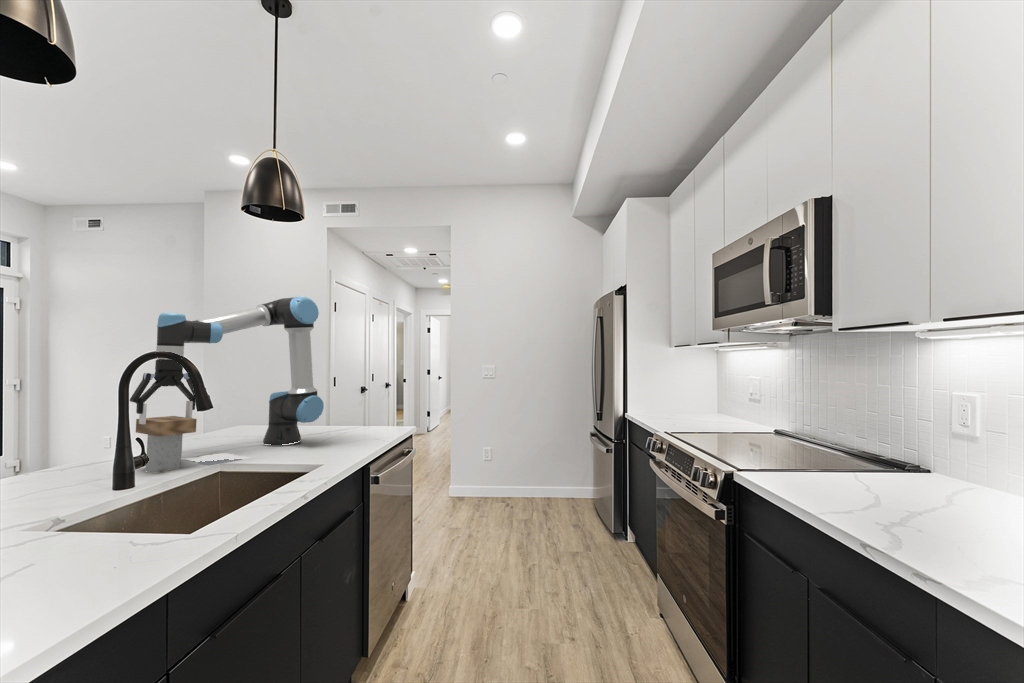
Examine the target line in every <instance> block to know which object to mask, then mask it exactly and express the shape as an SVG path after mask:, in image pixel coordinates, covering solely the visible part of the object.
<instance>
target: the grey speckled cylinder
mask: <svg viewBox="0 0 1024 683" xmlns="http://www.w3.org/2000/svg"><path fill="white" fill-rule="evenodd" d="M183 436H184V435H183V434H175V435H166V436H153V435H148V434H147V440H146V446H147V447H146V457H147V456H148V458H149V461H148V463H147V464H146V463H145V470H146V471H147V472H146V471H145V472H146V473H149V472H159V473H164V472H166V471H172V470H176V469H180V468H181V467H182V460H181V458H182V452H183Z"/></svg>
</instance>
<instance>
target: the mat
mask: <svg viewBox="0 0 1024 683" xmlns="http://www.w3.org/2000/svg"><path fill="white" fill-rule="evenodd" d="M241 460H242V459H234V460H229V459H224V460H217V461H214V460H213V461H205V462H202V461H200V462H198V463H197V464H200V465H204V466H214V465H219V464H220V465H221V464H225V463H226V464H227V463H233V462H236V461H241Z"/></svg>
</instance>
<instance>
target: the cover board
mask: <svg viewBox="0 0 1024 683" xmlns="http://www.w3.org/2000/svg"><path fill="white" fill-rule="evenodd" d="M197 422H198V421H197V418H194V417H192V418H186V416H185V417H184V416H177V415H169V416H156V417H154V416H153V417H146V424H139V418H136V419H135V433H136V434H142V435H143V434H144V435H147V436H148V435H153V436H166V435H175V434H193V433H196V432H197Z"/></svg>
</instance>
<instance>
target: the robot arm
mask: <svg viewBox="0 0 1024 683" xmlns="http://www.w3.org/2000/svg"><path fill="white" fill-rule="evenodd" d="M319 314H320V312H319V308H318V305H317V304H316V303H315V302H314V300H312V299H311V298H310V297H307V296H295V297H286V298H285V297H284V298H278V299H275V300H273V301H269V302H266V303H262V304H258V305H257V306H256V307H254V308H249V309H244V310H240V311H234V312H229V313H224V314H220V315H216V316H209V317H205V318H201V319H196V320H187V318H186V315H185V314H183V313H177V312H176V313H175V312H162V313H160V314H158V315H159V316H158V320H157V325H156V327H157V329H156V330H157V332H156V347H155V348H156V350H155V353H156V352H159V351H165V352H172V353H175V354H178V355H180V356H183V358H184V354H185V344H219V343H220V342H221V341H222V339H223V336H224V335H227V334H229V333H230V334H231V333H234V332H239V331H242V330H247V329H250V328H254V327H255V328H256V327H260V326H262V327H269V326H275V325H277V326H278V325H283V329H284V330H285V331H286V332H287V333H288V346H289V347H288V348H289V349H288V350H289V364H290V368H289V369H290V381H291V382H290V383H291V384H290V385H291V387H290V388H291V389H290V390H288V391H285V390H284V391H278V392H276V391H275V392H271V394H270V395H269V399H268V400H269V401H268V403H269V404H268V405H269V406H268V428H267V429H266V431H265V435H264V437H263V440H262V442H263V443H264V444H271V445H282V444H289V443H294V442H298V441H300V440H301V441H302V437H301V434H300V430H299V427H298V426H299V425H298V423H303V424H305V423H313V422H315V421H317V420H318V419H319V418H320V417H321V415H322V414H323V411H324V407H325V406H324V401H323V399H322V398H321V397H320V396H319V395H318V389H317V388H316V387H314V377H313V375H314V374H313V373H314V372H313V361H312V360H313V357H312V356H313V355H312V344H311V343H312V341H311V338H312V337H311V331H313V329H314V325H315V324H314V323H315V322H316V321H317V319H319V318H318V317H319ZM154 367H155V368H154V369H155V370H154V371H155V372H154V373H149V372H144V373H143V375H142V379H141V381H140V383H139V384H138V386H137V387H136V389H135V391H134V392H133V393H132V395H131V397H130V398H129V402H131V403H135V404H136V410H135V411H136V414H137V415H139V417H138V419H139V424H146V418H147V411H148V408H147V407H148V406H147V405H148V404H147V403H145V402H146V401H147V400H148V399H149V398H150V397H151V396H152V395H154V394H155V392H156V391H157V390H159V389H160V388H161V387H176V388H177V389H179V391H180V392H181V393H182V394H183V395H184V396H185V397H186V398H187V399H188V400H186V401H185V417H186V418H193V411H195V410H196V401H195V395H194V390H193V385H192V381H191V378H190V376H189V374H188V373H189V372H186V373H183V369H184V365H183V366H181V365H180V364H179V363H177V362H176V361H174V360H171V359H167V358H158V357H157V359H156V360H155V366H154ZM183 378H184V380H185V381H186V383H187V385H188V388H189V389H190V390H189V389H188V388H187V387H186V386H185V383H184V382H182V380H183ZM153 379H154V380H155V381H154V382H153V383H152V384H151V386H150V387H149V388H148V389H147V386H148V385H149V383H150V381H151V380H153ZM146 389H147V390H146ZM145 390H146V391H145ZM263 443H262V444H263Z"/></svg>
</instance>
